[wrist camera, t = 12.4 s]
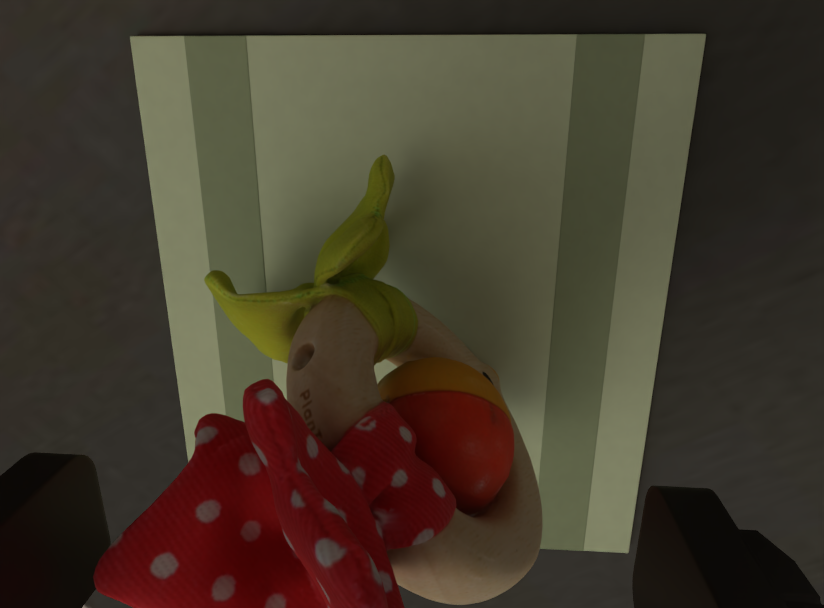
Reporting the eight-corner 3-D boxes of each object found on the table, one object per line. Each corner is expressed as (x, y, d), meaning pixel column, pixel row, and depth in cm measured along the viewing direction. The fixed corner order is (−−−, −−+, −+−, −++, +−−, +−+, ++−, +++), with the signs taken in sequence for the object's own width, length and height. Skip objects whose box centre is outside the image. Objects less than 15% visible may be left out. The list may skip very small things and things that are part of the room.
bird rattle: (541, 278, 18) (307, 77, 13) (819, 653, 9) (430, 460, 5) (403, 406, 20) (153, 269, 15) (526, 820, 11) (23, 810, 6)
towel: (135, 37, 15) (128, 35, 15) (702, 34, 14) (706, 33, 14) (201, 523, 20) (197, 529, 20) (626, 546, 19) (629, 554, 19)
